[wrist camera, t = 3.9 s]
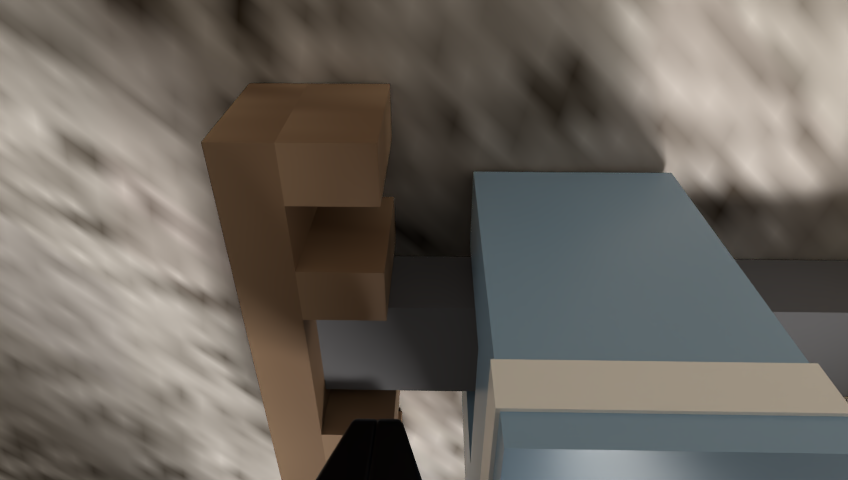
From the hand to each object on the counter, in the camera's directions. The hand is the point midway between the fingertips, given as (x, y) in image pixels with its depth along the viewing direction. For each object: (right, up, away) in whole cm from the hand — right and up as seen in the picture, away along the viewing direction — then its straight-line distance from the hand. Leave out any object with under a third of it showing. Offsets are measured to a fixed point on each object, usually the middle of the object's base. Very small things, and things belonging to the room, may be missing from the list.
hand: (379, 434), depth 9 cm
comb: (-1, +2, +3) cm, 4 cm away
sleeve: (+3, +2, +3) cm, 5 cm away
